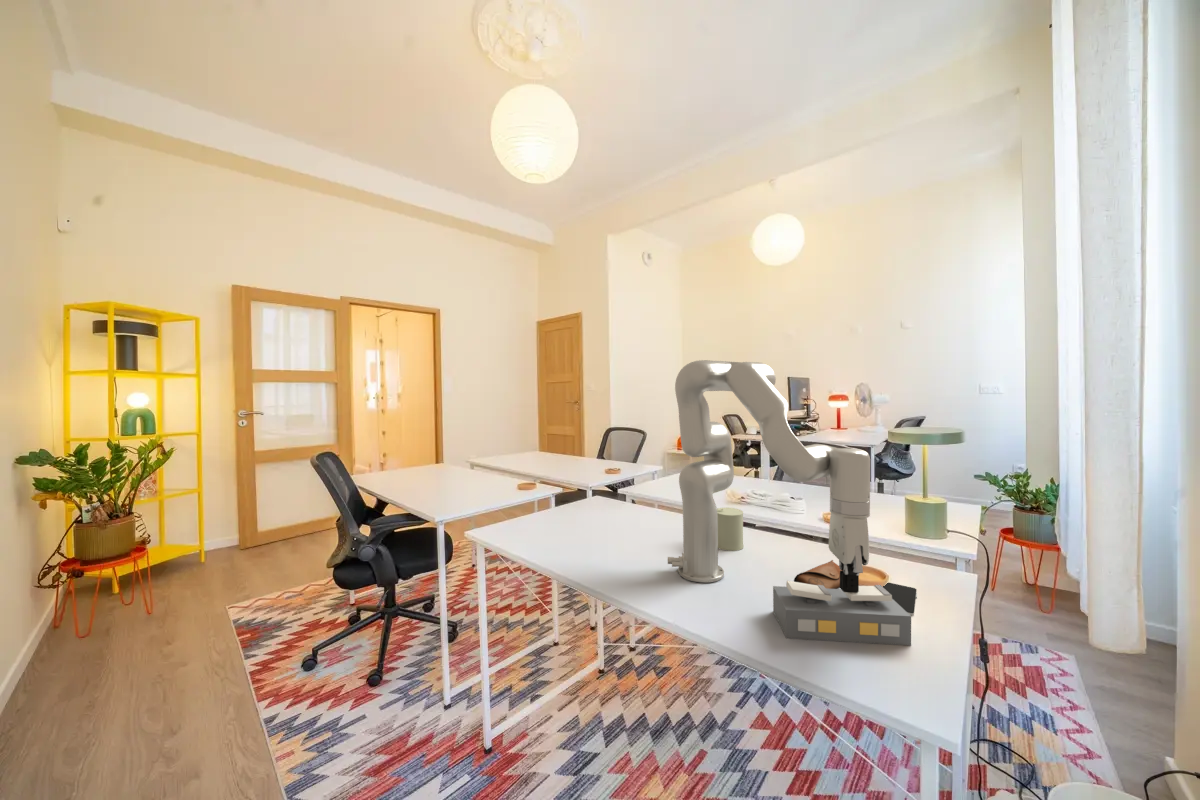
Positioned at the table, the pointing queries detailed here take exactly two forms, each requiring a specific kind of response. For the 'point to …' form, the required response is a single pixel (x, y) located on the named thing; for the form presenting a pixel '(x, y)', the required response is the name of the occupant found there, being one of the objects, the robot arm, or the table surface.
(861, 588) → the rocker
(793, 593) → the rocker
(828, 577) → the sunglasses case
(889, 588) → the smartphone
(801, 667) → the table surface
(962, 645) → the table surface
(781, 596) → the console
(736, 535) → the can
